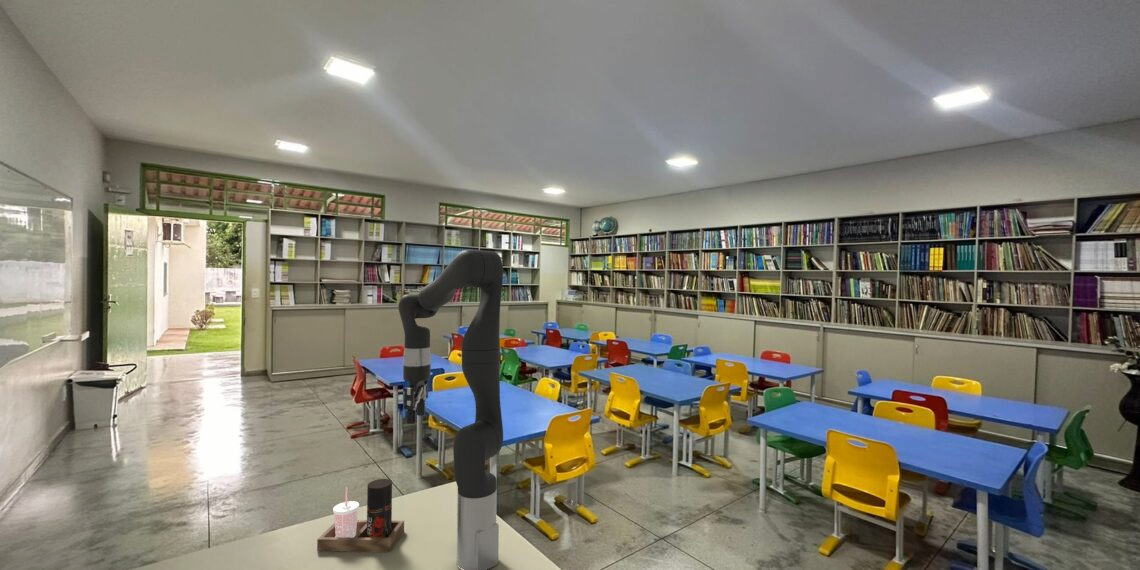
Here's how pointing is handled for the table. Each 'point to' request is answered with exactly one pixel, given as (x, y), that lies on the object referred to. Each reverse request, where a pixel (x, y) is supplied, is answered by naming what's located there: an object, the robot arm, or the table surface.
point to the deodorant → (379, 508)
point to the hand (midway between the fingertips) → (416, 419)
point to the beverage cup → (346, 518)
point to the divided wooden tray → (360, 539)
